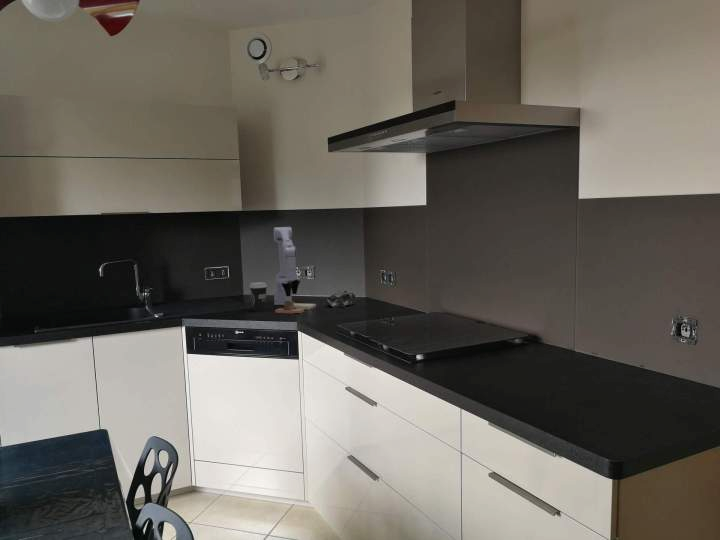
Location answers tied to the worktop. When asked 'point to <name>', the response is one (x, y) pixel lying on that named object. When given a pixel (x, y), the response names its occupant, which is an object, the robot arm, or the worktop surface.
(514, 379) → the worktop surface
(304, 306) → the pad
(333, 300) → the foil
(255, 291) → the coffee cup
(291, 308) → the stub
